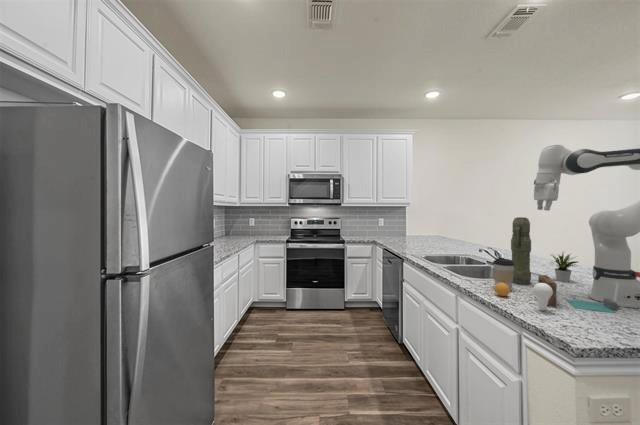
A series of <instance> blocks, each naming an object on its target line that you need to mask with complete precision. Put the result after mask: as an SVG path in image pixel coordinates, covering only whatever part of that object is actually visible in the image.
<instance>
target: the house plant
mask: <svg viewBox="0 0 640 425" xmlns="http://www.w3.org/2000/svg"><path fill="white" fill-rule="evenodd" d="M564 253H565V252H564V251H562V254H561V255H560V254H559V253H558V254H557V256H558V257H556V256H555V255H553V254H550V256H551V257H552V258H553V259H554V262H553V261H551V262H549V264H550V265H553V266H557V268H555V267H554V271H555V272H554V273H555V277H556V278H555V279H556V281H557V280H558V281H557V282H560V281H562V282H561V283H569V282H570V279H571V277H572V276H571V275H572V270H571V269H570V267H573V266H574V267H575V268H577V267H578V265H577V264H576V263H578V260H576V261H575V260H574V259H575V258H576V257H579V255H578V256H577V255H576V256H573V257H570V256H571V253H569V254H567V255H566V256H565V257H564ZM572 260H574V261H572ZM568 268H569V269H568Z"/></svg>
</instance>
